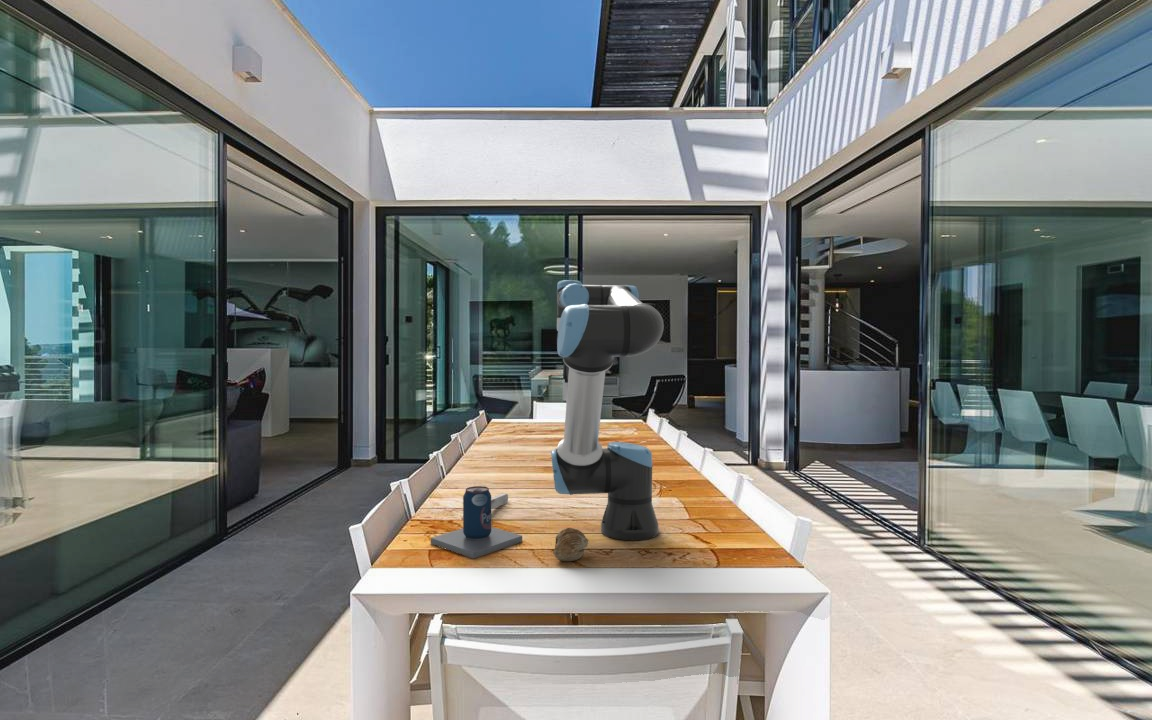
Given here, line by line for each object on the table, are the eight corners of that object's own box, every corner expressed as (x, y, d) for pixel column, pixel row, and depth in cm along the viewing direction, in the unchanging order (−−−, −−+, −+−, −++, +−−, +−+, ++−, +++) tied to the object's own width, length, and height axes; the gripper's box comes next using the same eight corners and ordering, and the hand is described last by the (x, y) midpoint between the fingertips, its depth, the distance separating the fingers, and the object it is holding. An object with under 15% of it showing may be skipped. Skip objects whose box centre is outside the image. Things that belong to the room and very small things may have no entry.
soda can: (488, 541, 150) (488, 492, 150) (460, 540, 150) (460, 492, 150) (493, 532, 157) (493, 485, 157) (466, 532, 157) (466, 485, 157)
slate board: (522, 541, 154) (522, 535, 154) (473, 558, 142) (473, 552, 142) (479, 528, 165) (479, 523, 165) (430, 543, 152) (430, 537, 152)
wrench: (507, 511, 192) (473, 528, 164) (502, 510, 193) (466, 527, 164) (508, 485, 193) (474, 497, 164) (503, 485, 194) (468, 497, 165)
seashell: (590, 555, 146) (557, 550, 148) (593, 526, 146) (560, 521, 148) (582, 568, 137) (548, 562, 139) (585, 536, 137) (551, 531, 139)
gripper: (586, 331, 173) (585, 407, 174) (578, 332, 198) (577, 398, 198) (559, 331, 172) (559, 407, 173) (554, 332, 197) (554, 398, 198)
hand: (569, 402), depth 186 cm, fingers open, 13 cm apart
